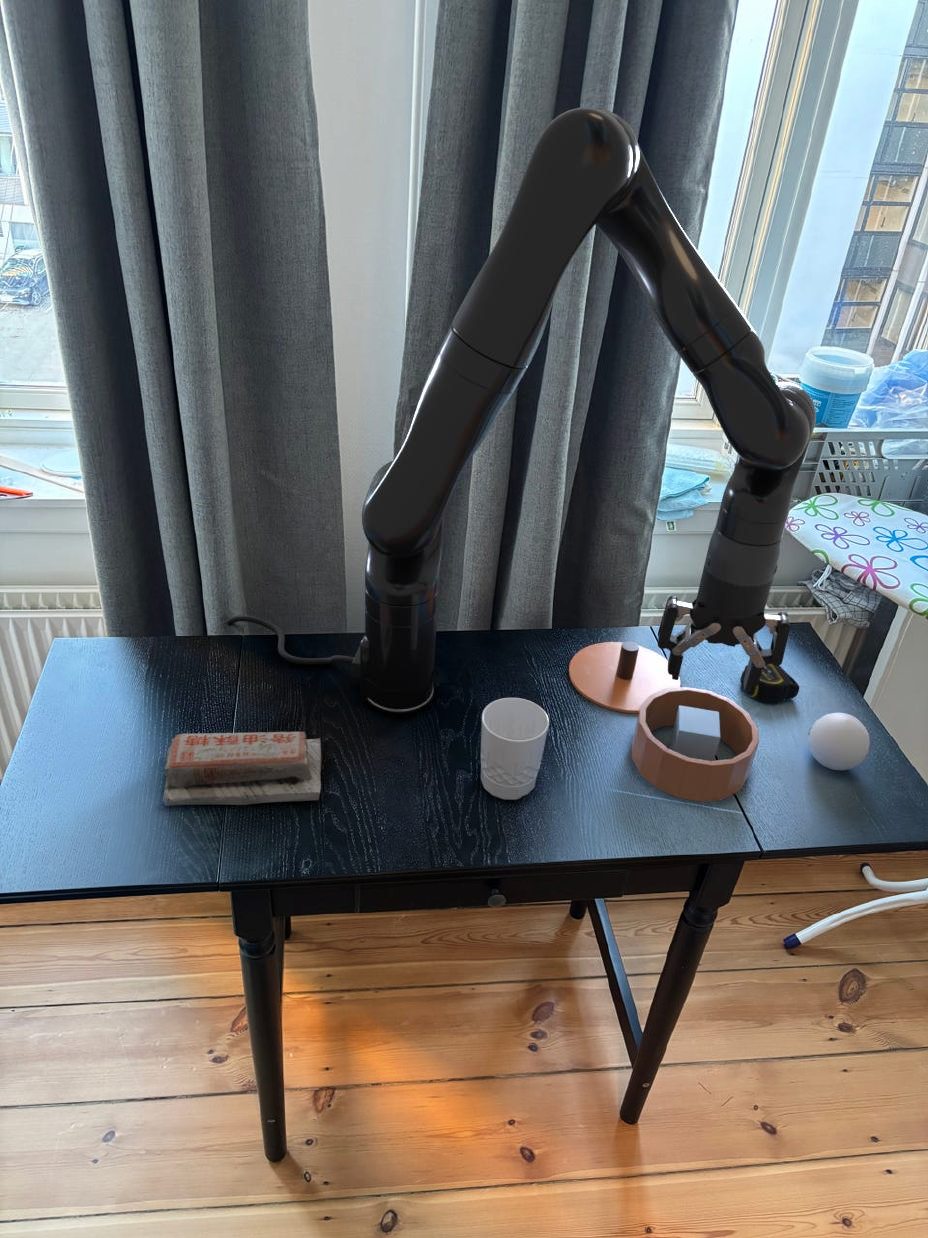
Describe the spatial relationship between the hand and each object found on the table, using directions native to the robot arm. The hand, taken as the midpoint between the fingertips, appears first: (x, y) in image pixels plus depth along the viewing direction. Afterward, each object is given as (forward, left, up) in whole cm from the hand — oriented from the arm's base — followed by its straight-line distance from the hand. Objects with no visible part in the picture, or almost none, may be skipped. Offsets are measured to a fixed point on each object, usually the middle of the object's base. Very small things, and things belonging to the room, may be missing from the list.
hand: (710, 681), depth 115 cm
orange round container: (0, 0, -13) cm, 13 cm away
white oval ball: (+18, +6, -13) cm, 23 cm away
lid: (-9, +15, -13) cm, 22 cm away
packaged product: (-53, -16, -13) cm, 57 cm away
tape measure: (+11, +18, -13) cm, 25 cm away
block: (0, 0, -13) cm, 13 cm away
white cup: (-22, -9, -13) cm, 27 cm away
